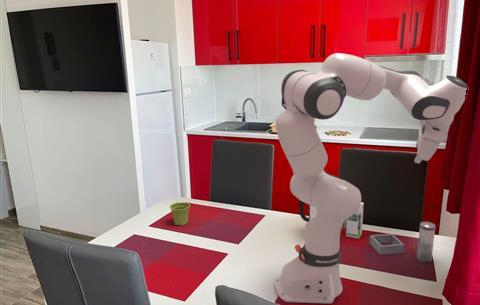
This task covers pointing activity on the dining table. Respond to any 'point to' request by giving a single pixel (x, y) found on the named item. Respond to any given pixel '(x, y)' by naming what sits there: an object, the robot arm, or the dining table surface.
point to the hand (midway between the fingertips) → (417, 154)
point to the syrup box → (355, 223)
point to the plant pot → (180, 212)
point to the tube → (426, 241)
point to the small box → (344, 224)
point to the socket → (386, 249)
